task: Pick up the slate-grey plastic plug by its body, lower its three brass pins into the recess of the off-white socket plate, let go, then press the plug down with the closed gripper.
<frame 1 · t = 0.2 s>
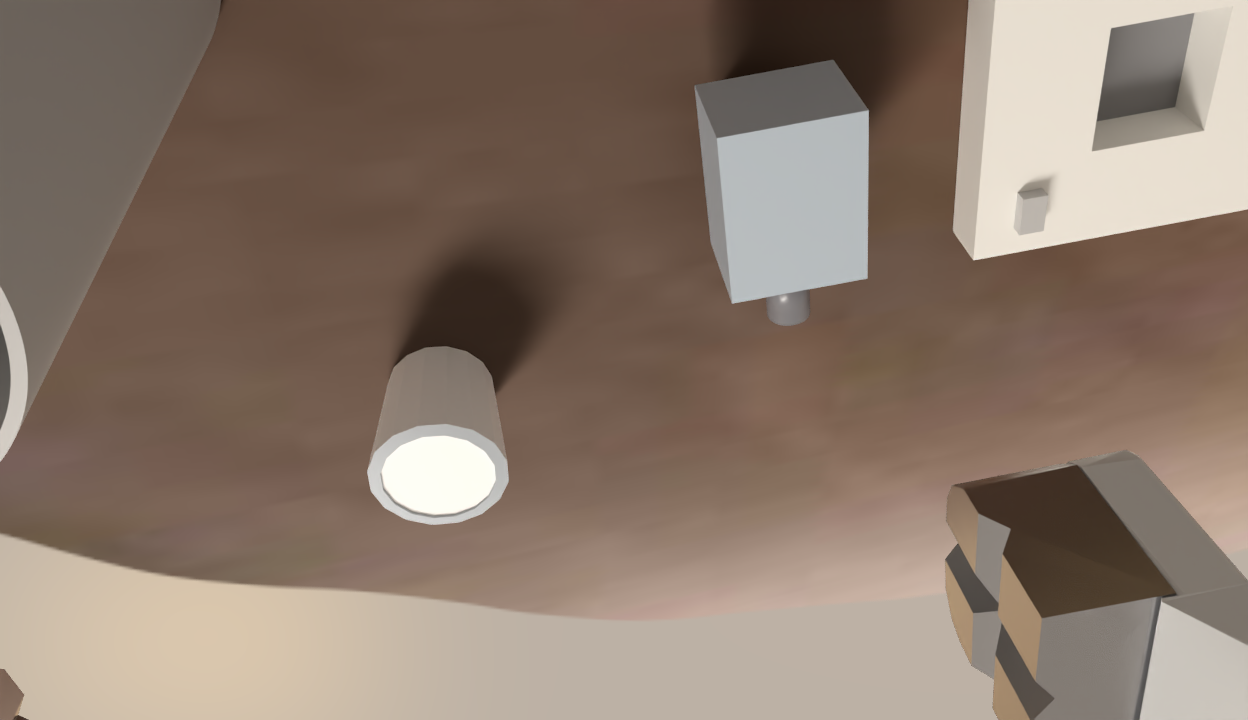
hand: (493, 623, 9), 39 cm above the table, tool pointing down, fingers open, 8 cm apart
socket plate: (1128, 57, 50), on the table
shot glass: (441, 384, 57), on the table
plug: (754, 126, 50), on the table
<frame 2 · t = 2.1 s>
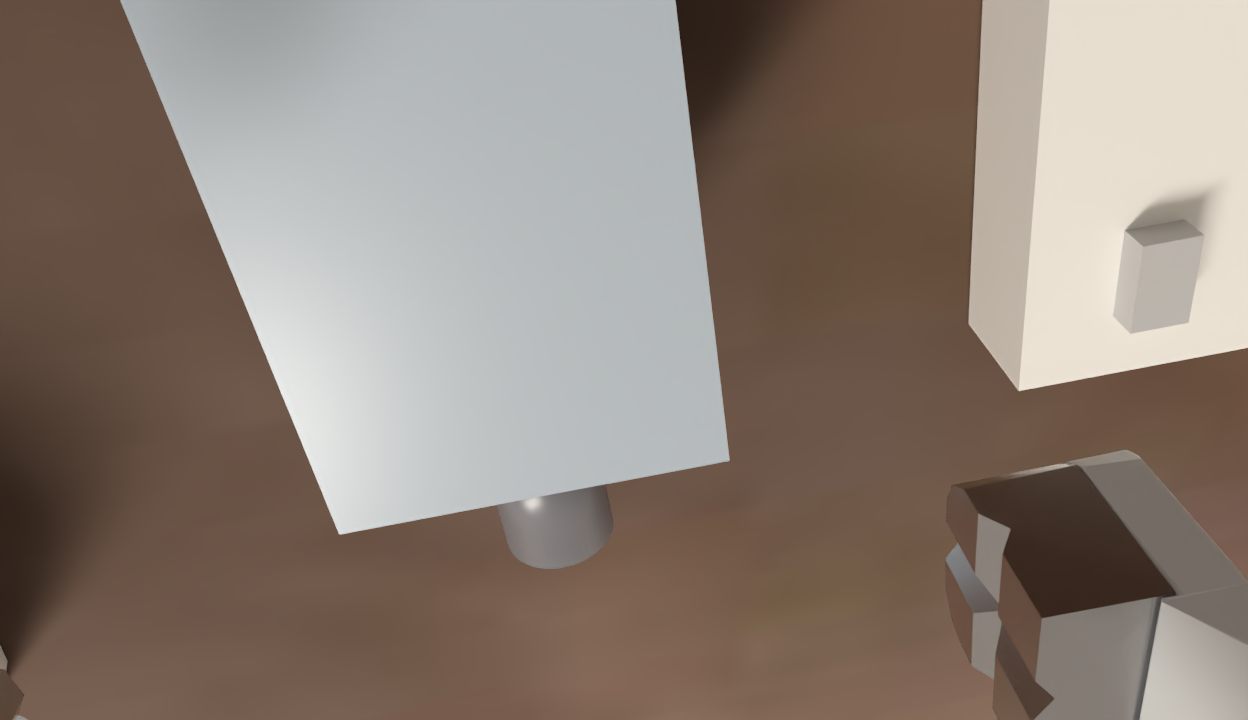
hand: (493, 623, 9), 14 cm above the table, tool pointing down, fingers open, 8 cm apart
plug: (477, 72, 20), on the table
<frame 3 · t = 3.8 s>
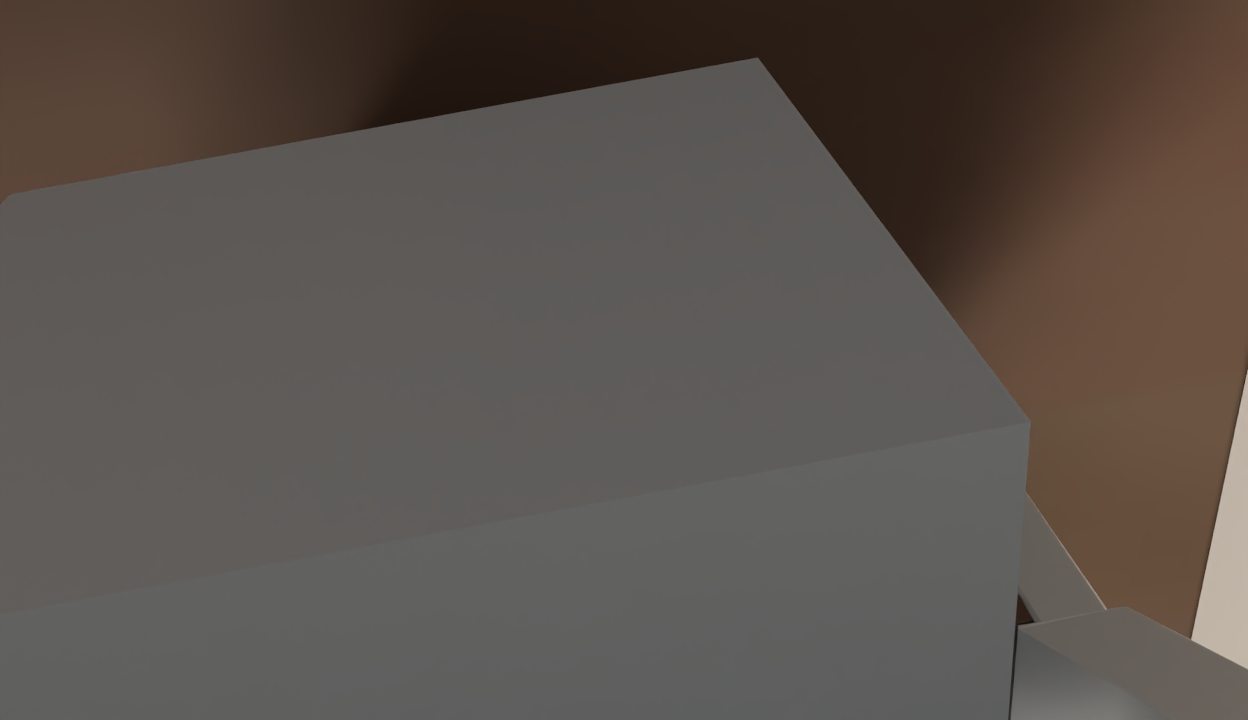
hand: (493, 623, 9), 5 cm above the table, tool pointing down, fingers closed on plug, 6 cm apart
plug: (493, 349, 13), on the table, touching gripper
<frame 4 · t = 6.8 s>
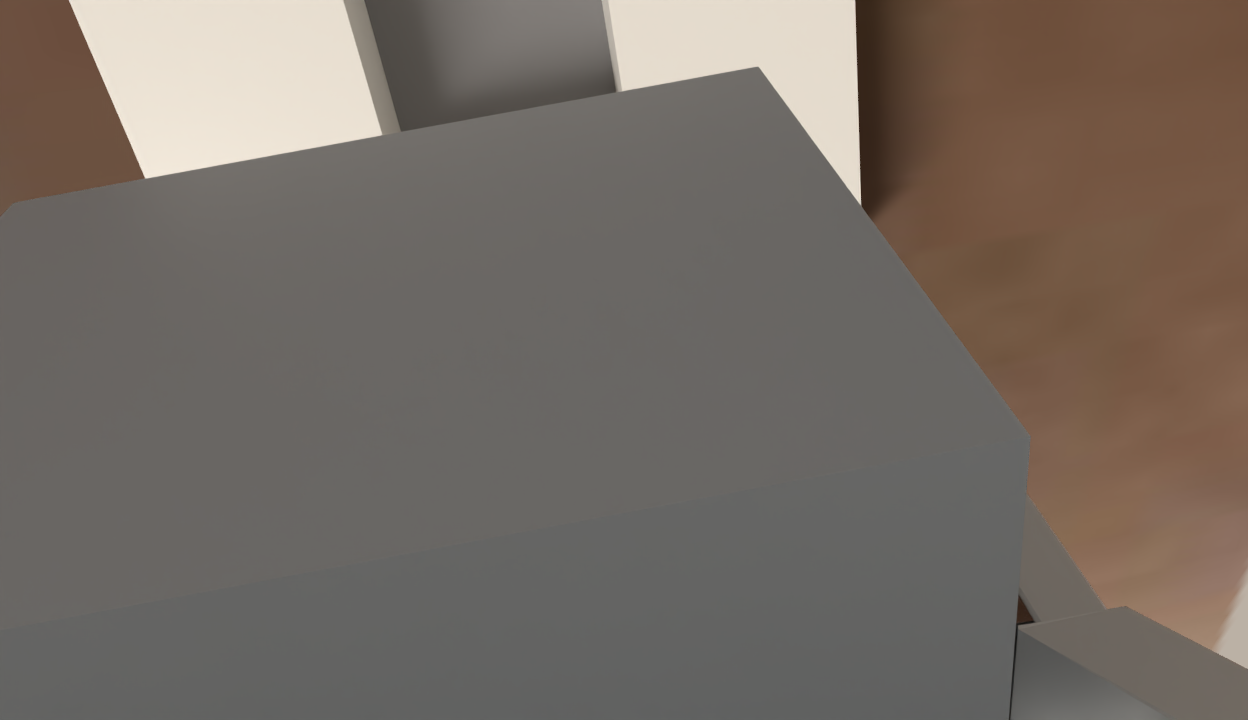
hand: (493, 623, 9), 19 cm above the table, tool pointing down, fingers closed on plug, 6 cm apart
socket plate: (491, 30, 25), on the table
plug: (493, 354, 13), point 14 cm above the table, touching gripper
when the fingers open (6 cm above the table, at t = 9.8 s): plug stays where it is, resting on socket plate.
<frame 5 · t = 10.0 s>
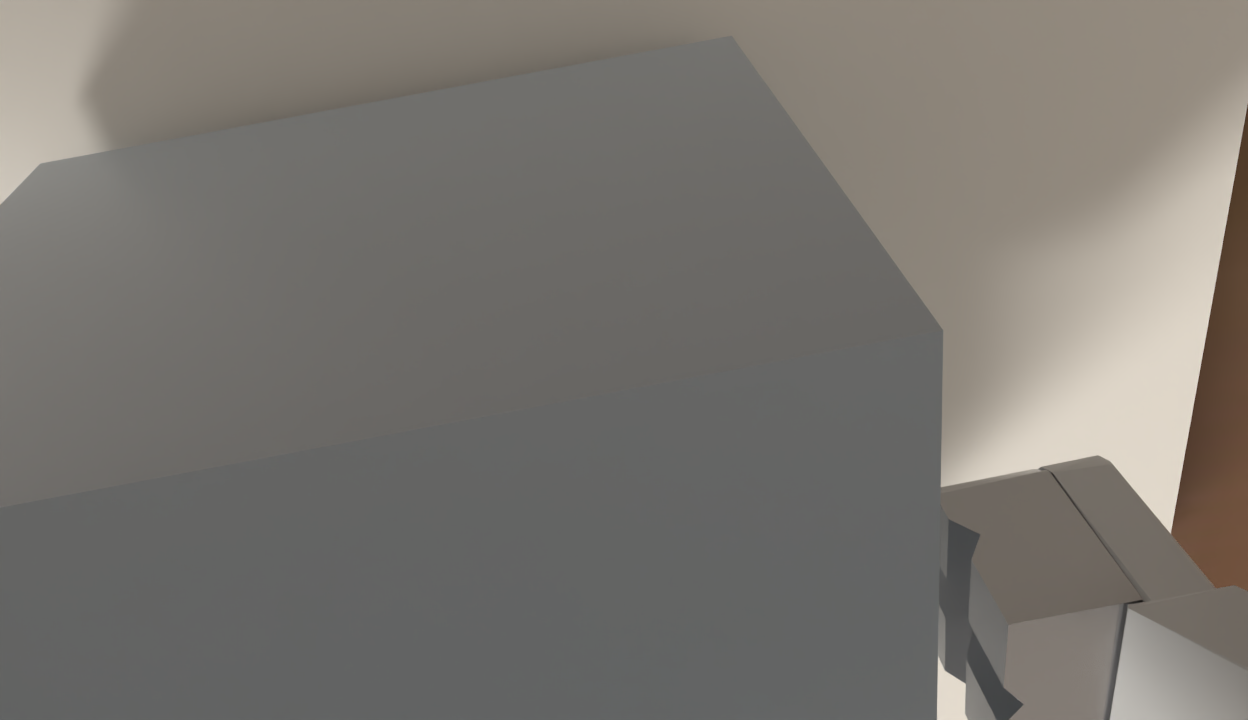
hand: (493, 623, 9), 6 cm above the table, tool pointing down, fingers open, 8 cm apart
socket plate: (494, 311, 14), on the table
plug: (489, 321, 14), resting on socket plate
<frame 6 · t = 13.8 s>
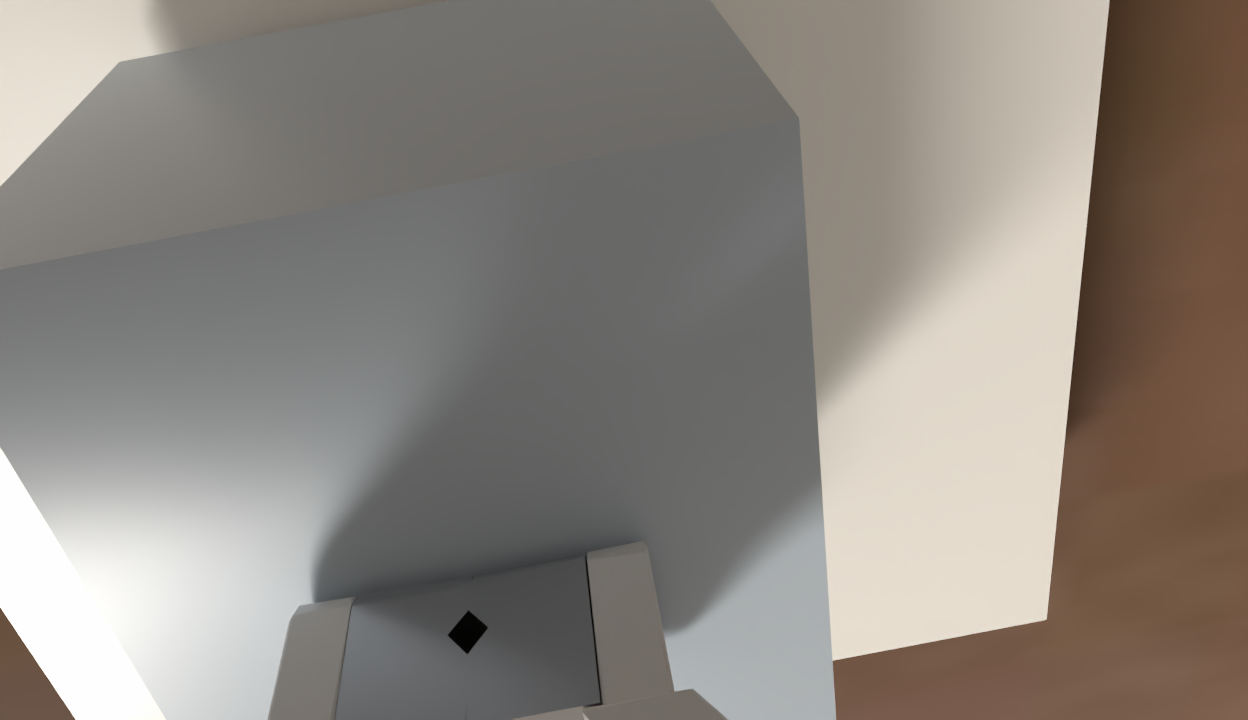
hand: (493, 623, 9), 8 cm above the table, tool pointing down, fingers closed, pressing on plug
socket plate: (486, 217, 16), on the table
plug: (482, 225, 16), resting on socket plate, touching gripper
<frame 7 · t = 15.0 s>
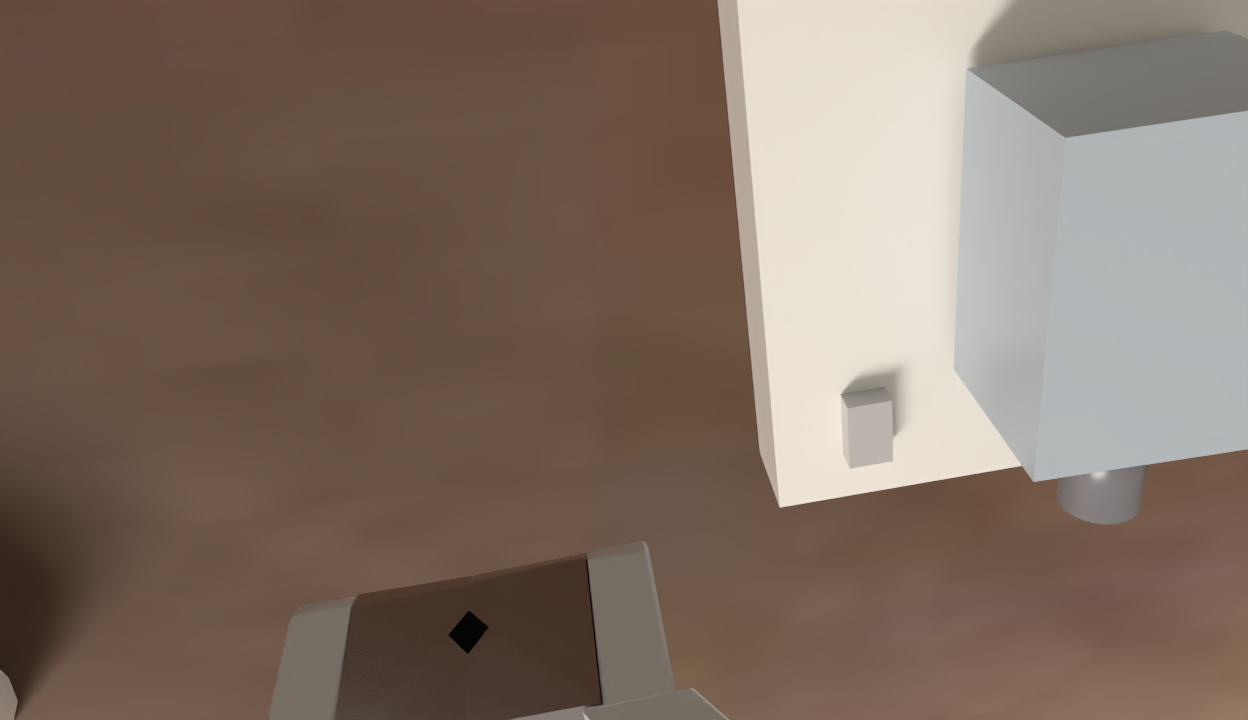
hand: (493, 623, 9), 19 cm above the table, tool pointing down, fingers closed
socket plate: (1027, 164, 29), on the table
plug: (1028, 171, 28), resting on socket plate
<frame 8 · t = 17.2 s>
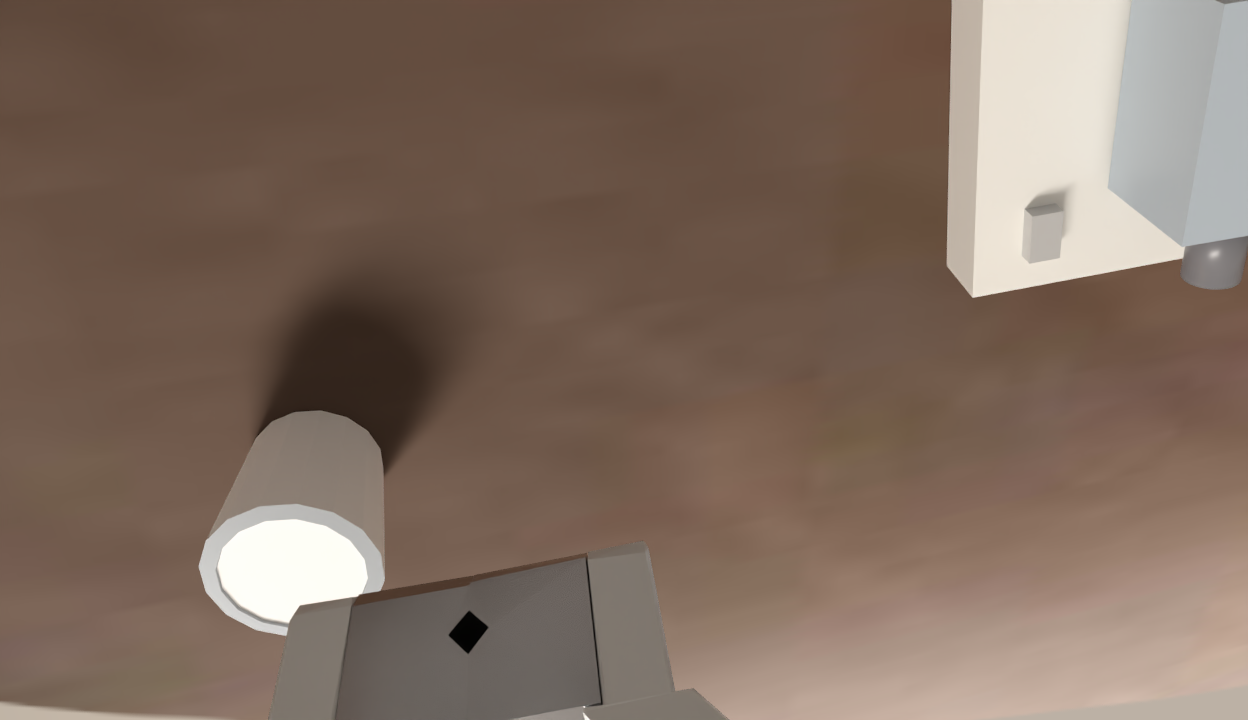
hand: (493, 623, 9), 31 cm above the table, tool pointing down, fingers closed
socket plate: (1156, 41, 40), on the table
shot glass: (318, 460, 46), on the table
plug: (1158, 46, 40), resting on socket plate
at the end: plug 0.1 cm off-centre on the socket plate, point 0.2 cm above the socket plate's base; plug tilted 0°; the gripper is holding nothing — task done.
